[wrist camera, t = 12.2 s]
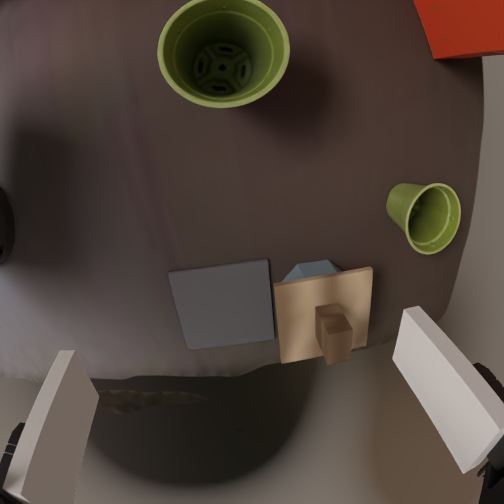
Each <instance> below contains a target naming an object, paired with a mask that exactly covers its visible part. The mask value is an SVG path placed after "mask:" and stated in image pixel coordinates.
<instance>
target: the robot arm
mask: <svg viewBox="0 0 504 504" xmlns="http://www.w3.org/2000/svg"><path fill="white" fill-rule="evenodd" d="M13 241H14V221H13V216H12V212H11V209H10V206H9V203H8V201H7V199H6V197H5V195H4V193H3V192H2V190H1V189H0V263H1V262H2V261H4V260H5V259H6V258H7V256H8V255H9V253H10V251H11V249H12V246H13ZM392 359H393V361H394V362H395V364H396V366H397V367H398V369H399V370H400V372H401V373H402V374H403V376H404V378H405V379H406V381H407V382H408V384H409V385H410V387H411V389H412V390H413V392H414V393H415V395H416V396H417V398H418V399H419V401H420V403H421V404H422V406H423V407H424V409H425V411H426V412H427V414H428V416H429V417H430V419H431V420H432V422H433V424H434V425H435V427H436V429H437V430H438V432H439V434H440V435H441V437H442V439H443V440H444V442H445V443H446V445H447V447H448V449H449V450H450V452H451V453H452V455H453V457H454V459H455V461H456V462H457V464H458V466H459V468H460V469H461V471H462V473H463V474H464V473H465V472H467V471H469V470H471V469H472V468H474V467H476V466H477V465H479V464H480V463H481V461H482V460H483V459H484V458H485V457H486V456H487V458H488V459H489V461H488V462H487V463H486V464H485V465H484V466H483V467H482V468H481V469H480V471H479V472H478V474H477V476H478V477H479V476H480V475H481V474H482V473H483V472H484V471H485V474H484V475H483V477H484V481H483V486H482V491H481V495H480V500H479V504H504V387H502V384H501V383H500V382H499V381H498V380H496V377H495V376H494V375H493V374H492V372H491V371H490V370H489V369H488V368H486V367H485V366H483V365H481V364H480V363H475V364H473V365H472V364H471V363H470V362H469V361H468V359H467V358H466V357H465V356H464V355H463V354H462V353H461V351H459V349H458V348H457V347H456V346H455V345H454V343H453V342H452V341H451V340H450V339H449V338H448V337H447V336H446V335H445V333H444V332H443V331H441V329H440V328H439V327H438V326H437V325H436V324H435V323H434V321H433V320H432V319H431V318H430V317H429V316H428V315H427V314H426V313H425V312H424V311H423V310H422V309H421V308H420V307H419V306H415V307H411V308H407V309H404V311H403V316H402V320H401V325H400V329H399V334H398V338H397V343H396V347H395V350H394V354H393V358H392ZM98 400H99V395H98V393H97V392H96V390H95V388H94V386H93V384H92V382H91V381H90V379H89V377H88V375H87V373H86V371H85V369H84V367H83V365H82V363H81V361H80V359H79V357H78V355H77V353H76V351H75V350H60V351H59V353H58V355H57V357H56V359H55V361H54V363H53V365H52V367H51V369H50V371H49V373H48V375H47V377H46V379H45V381H44V383H43V385H42V388H41V390H40V392H39V394H38V397H37V399H36V401H35V403H34V406H33V408H32V410H31V413H30V415H29V417H28V419H27V422H26V423H19V425H18V426H17V427H16V428H15V429H14V430H13V432H12V434H11V436H10V439H9V441H8V445H7V447H6V449H5V454H3V457H2V460H1V462H0V504H73V502H74V497H75V492H76V487H77V482H78V477H79V473H80V468H81V464H82V460H83V455H84V451H85V447H86V443H87V439H88V435H89V431H90V428H91V424H92V420H93V417H94V413H95V410H96V406H97V403H98Z"/></svg>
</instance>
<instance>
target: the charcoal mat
mask: <svg viewBox="0 0 504 504" xmlns="http://www.w3.org/2000/svg"><path fill="white" fill-rule="evenodd" d="M168 277H169V281H170V285H171V289H172V293H173V297H174V301H175V305H176V309H177V312H178V316H179V320H180V323H181V327H182V331H183V334H184V338H185V341H186V345H187V348H188V350H193V349H202V348H212V347H220V346H228V345H236V344H244V343H251V342H258V341H265V340H272V339H275V338H274V326H273V314H272V302H271V291H270V280H269V269H268V259H260V260H253V261H245V262H238V263H231V264H223V265H216V266H208V267H201V268H193V269H185V270H178V271H170V272H168Z"/></svg>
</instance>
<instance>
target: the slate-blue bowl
mask: <svg viewBox="0 0 504 504" xmlns="http://www.w3.org/2000/svg"><path fill="white" fill-rule="evenodd" d="M337 272H342V271H341V270H340V269H339V268H337V267H336V266H335V265H334V264H333V263H331V262H330V261H329V260H322V261H315V262H308V263H301V264H297V265H296V266H295V267H294V268H293V269H292V271H291V272H290V273H289V274H288V275H287V276H286V277H285V278H284V279H283V280H282V282H284V281H290V280H296V279H302V278H308V277H314V276H320V275H326V274H332V273H337Z"/></svg>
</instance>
